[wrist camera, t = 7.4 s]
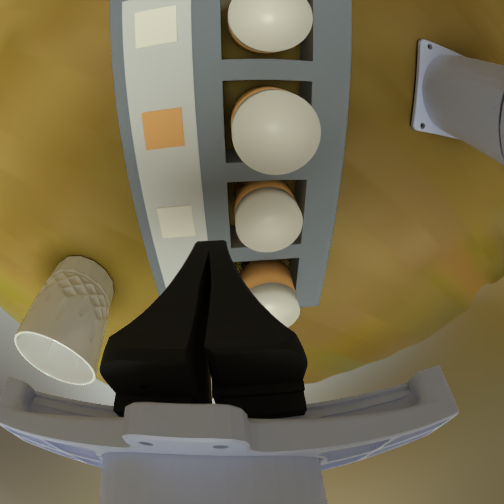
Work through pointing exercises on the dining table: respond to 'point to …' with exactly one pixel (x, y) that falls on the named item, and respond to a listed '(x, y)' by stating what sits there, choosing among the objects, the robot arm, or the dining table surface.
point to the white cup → (68, 322)
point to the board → (221, 131)
